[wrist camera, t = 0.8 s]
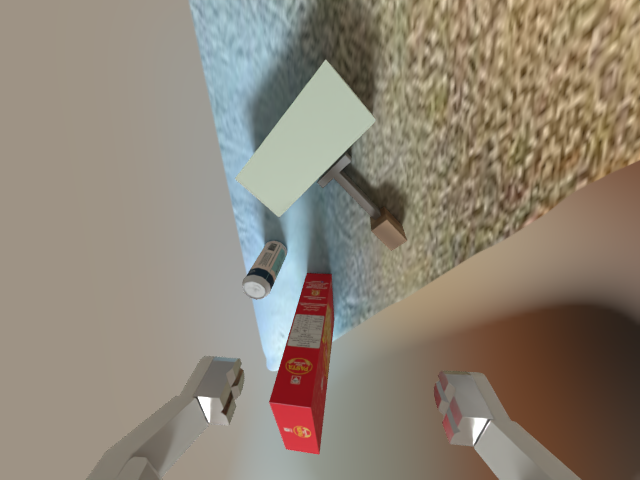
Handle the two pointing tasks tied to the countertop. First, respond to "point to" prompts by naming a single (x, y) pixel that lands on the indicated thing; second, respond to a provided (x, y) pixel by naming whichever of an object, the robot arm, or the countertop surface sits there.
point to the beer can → (264, 270)
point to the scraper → (366, 205)
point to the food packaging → (305, 368)
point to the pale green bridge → (306, 140)
